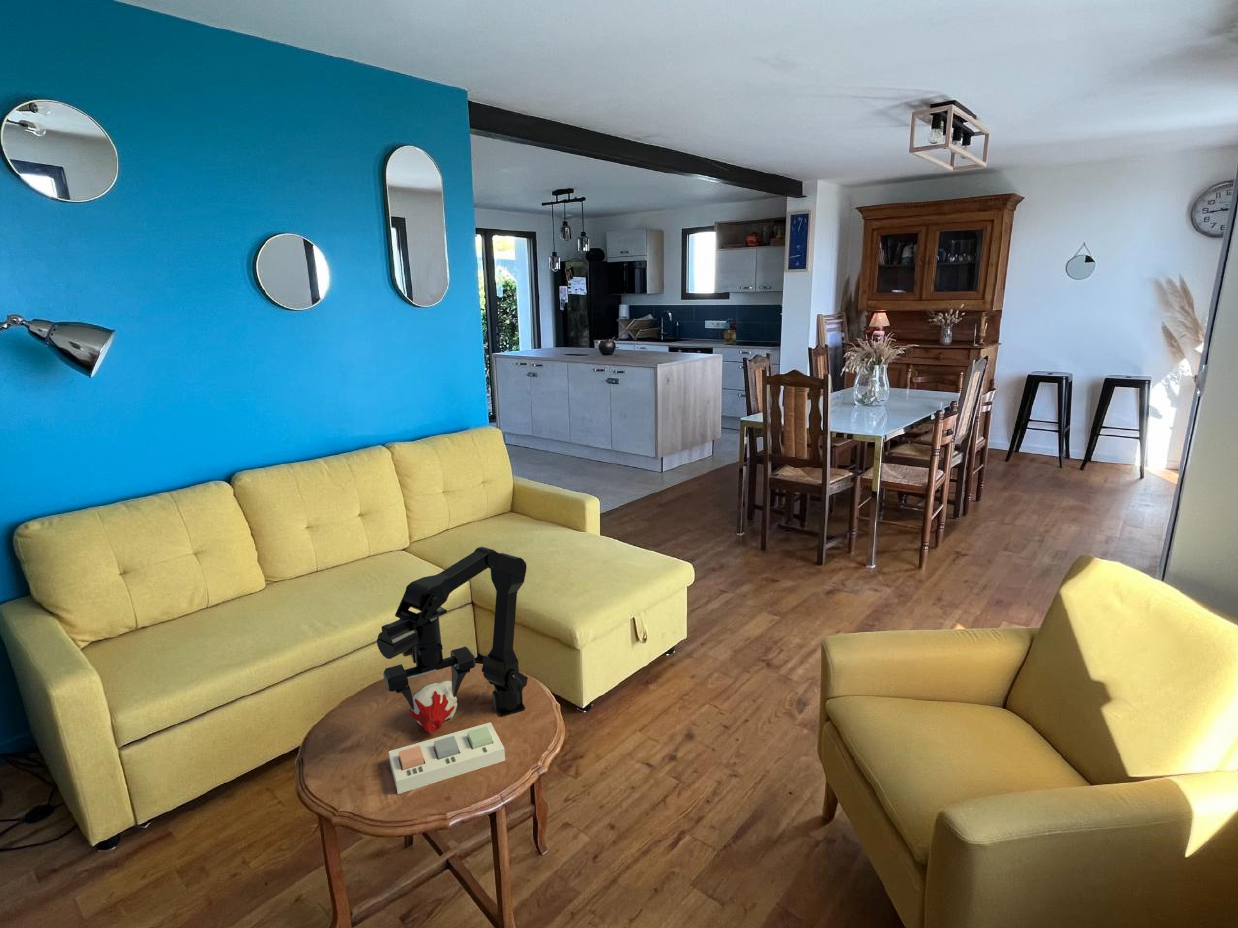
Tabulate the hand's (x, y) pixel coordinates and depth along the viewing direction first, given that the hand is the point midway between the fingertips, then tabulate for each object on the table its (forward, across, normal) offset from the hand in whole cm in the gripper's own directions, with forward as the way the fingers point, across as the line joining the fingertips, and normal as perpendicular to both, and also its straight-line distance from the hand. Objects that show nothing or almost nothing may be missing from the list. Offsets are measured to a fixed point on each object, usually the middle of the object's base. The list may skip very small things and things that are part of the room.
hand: (433, 702), depth 151 cm
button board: (+13, -1, +4) cm, 14 cm away
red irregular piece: (+13, -2, -12) cm, 18 cm away
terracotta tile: (+11, +7, +3) cm, 13 cm away
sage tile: (+11, -8, +4) cm, 14 cm away
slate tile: (+11, -1, +4) cm, 11 cm away
